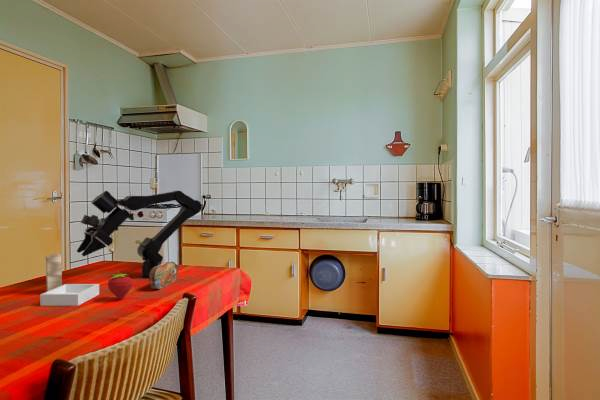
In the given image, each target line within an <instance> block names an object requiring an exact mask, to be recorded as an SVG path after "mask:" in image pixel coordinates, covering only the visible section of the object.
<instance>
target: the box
mask: <svg viewBox="0 0 600 400" xmlns="http://www.w3.org/2000/svg"><path fill="white" fill-rule="evenodd" d="M99 295H100V284H99V283H64V284H62V286H59V287H57V288H55V289H52V290H50V291H47V290H46V291H45V292H43V293H41V294H40V296H39V297H40V298H39V299H40V301H39V302H40V307H42V306H45V307H48V306H49V307H52V306H53V307H55V306H56V307H58V306H66V307H67V306H70V307H71V306H73V307H74V306H75V307H77V306H81V305H82V304H83V303H86V302H87V301H89V300H91V299H93V298H95V297H97V296H99Z"/></svg>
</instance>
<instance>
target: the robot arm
mask: <svg viewBox="0 0 600 400" xmlns="http://www.w3.org/2000/svg"><path fill="white" fill-rule="evenodd" d="M174 201H176V202H177V203H178V205H180V208H179V211H178V213H177V214H176V215H175V216H174V217H172V218H171V220H169V221H168V223H166V224H165V225H164V227H163V228H162V229H160V230H159V232H157V233H156V234H155V235H154V236H153V237H145V238H144V240H142V241H141V242H140V243H138V245H139V246H138V247H137V251H136V253H137V255H138V256H139V257H141V258H142V261H143V263H142V265H141V275H142V276H141V277H140V278H141V279H149V274H150V271H151V269H152V268H153V267H155V266H158V265H160V264H162V262H163V260H164V259H163V258H164V257H163V255H162V254H160V253H159V252H160V251H161V249H162V246H163V244H164V243H165V242H167V240H168V239H169V238H170V237H171V236H172V235H173V234H174V233H175V232H176V231H178V229H179V228H180V227H181V226H182V225H183V224H184V223H185V222H186V221H187V220H188V219H190V218H193V217H194V216H196V215H197V214H198V213H200V212H202V203H201V201H199V200H197V199H193V197H191V196H189V195H187V194H185V193H184V192H183V191H181V190H172V191H168V192H162V193H156V194H152V195H127V196H125V197H124V198H123V199H116V198H115V197H114V196H113V195H112V194H111V193H110V192H109V191H108V190H104V191H103V192H101V194H99V195H97V196H95V198H94V199H93V200H91V203H90V204H92V205H93V206H94V207H95V208H97V209H98V210H99V211H100V212H101V213H102V214H105V213H107V214H108V215H107V216H105V218H104V217H103V218H101V219H99V216H98V215H94V214H91V216H90V215H87V214H84V215H83V216H82V219H81V221H80V224H84V225H87V226H88V227H86V228H85V230H84V233H83V235H84V238H83V240H82V242H81V243H80V245H79V247H78V248H77V249H76V252H77V253H78V254H79V253H81V255H82V257H86V256H88V255H90V254H92V253H95V252H98V251H99V250H103V248H104V249H105V248H107V247H109V246H111V245H112V244H113V238H112V237H111V235H113V234H114V232H117V231H119V228H120V226H121V225H122V224H124V223H125V222H126V221H127V220H129V221H134V220H135V218H134V215H135V214H134V213H133V211H134V212H136V211H138V210H141V209H144V208H146V207H149V206H151V205H157V204H162V203H167V202H174ZM121 207H122V208H121ZM129 211H132V212H129Z"/></svg>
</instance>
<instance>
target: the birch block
mask: <svg viewBox="0 0 600 400" xmlns="http://www.w3.org/2000/svg"><path fill="white" fill-rule="evenodd" d="M62 268H63V265H62V255H61V254H60V253H55V254H54V253H53V254H45V277H46V279H45V281H46V292H47V291H50V290H52V289H55V288H57V287H59V286H62V285H63V275H62V274H63V271H62Z"/></svg>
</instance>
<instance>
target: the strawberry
mask: <svg viewBox="0 0 600 400" xmlns="http://www.w3.org/2000/svg"><path fill="white" fill-rule="evenodd" d="M133 283H134V282H133V279H132V278H131V277H129V276H128V273H119V271H117V274H112V277H110V278H109V280H108V281H107V287H108V289H109V291H110V293H112V295H114V296H115V298H117V300H121V301H122V300H123V299H124V298H125V297H126V295H127V294H129V292H130V291H131V289H132V287H133Z"/></svg>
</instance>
